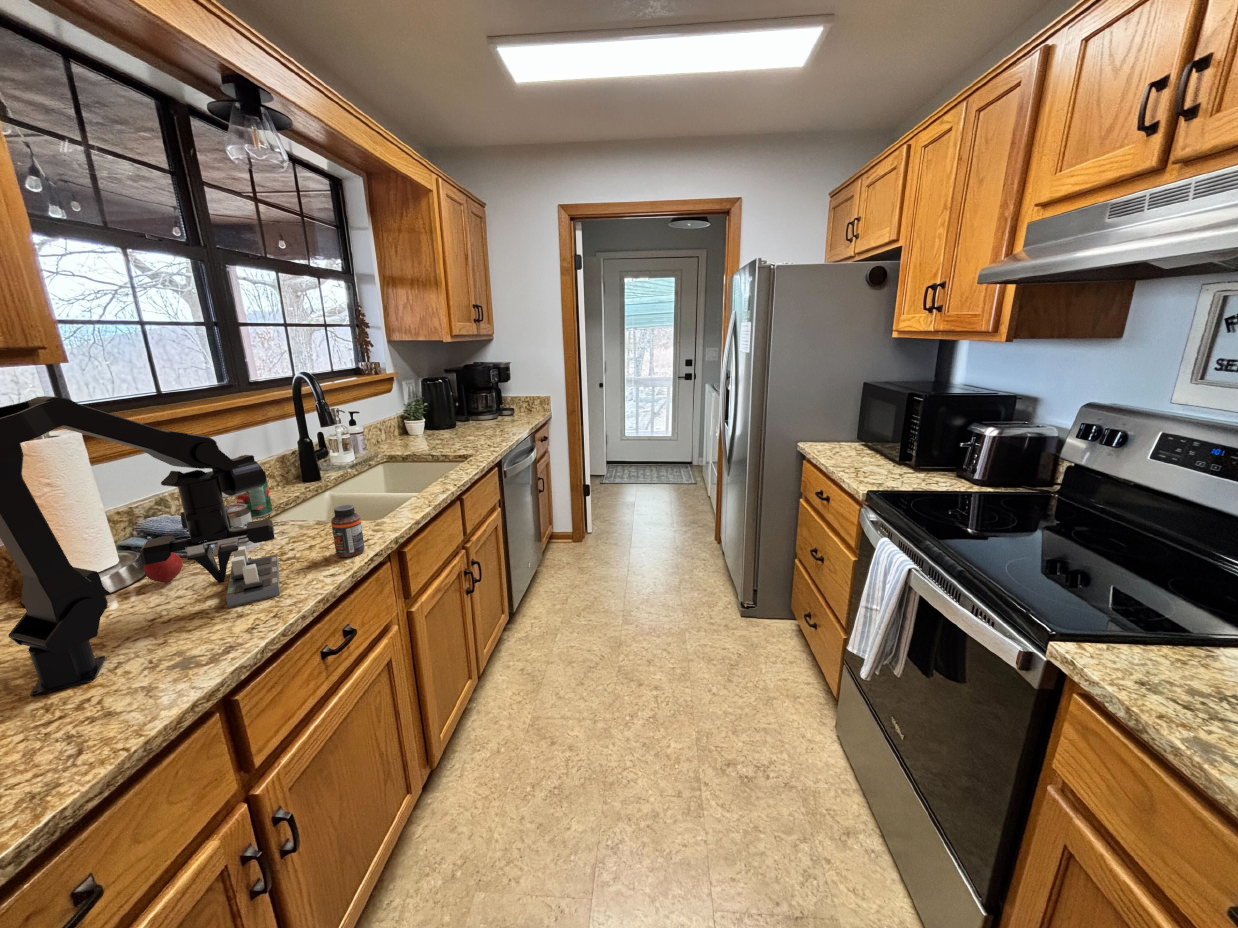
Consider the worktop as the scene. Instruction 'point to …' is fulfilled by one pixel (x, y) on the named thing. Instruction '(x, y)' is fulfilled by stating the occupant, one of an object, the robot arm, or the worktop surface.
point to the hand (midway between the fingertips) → (221, 582)
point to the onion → (164, 569)
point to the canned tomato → (257, 501)
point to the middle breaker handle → (237, 567)
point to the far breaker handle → (242, 554)
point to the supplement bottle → (347, 532)
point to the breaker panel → (268, 589)
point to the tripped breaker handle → (251, 577)
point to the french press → (238, 521)
